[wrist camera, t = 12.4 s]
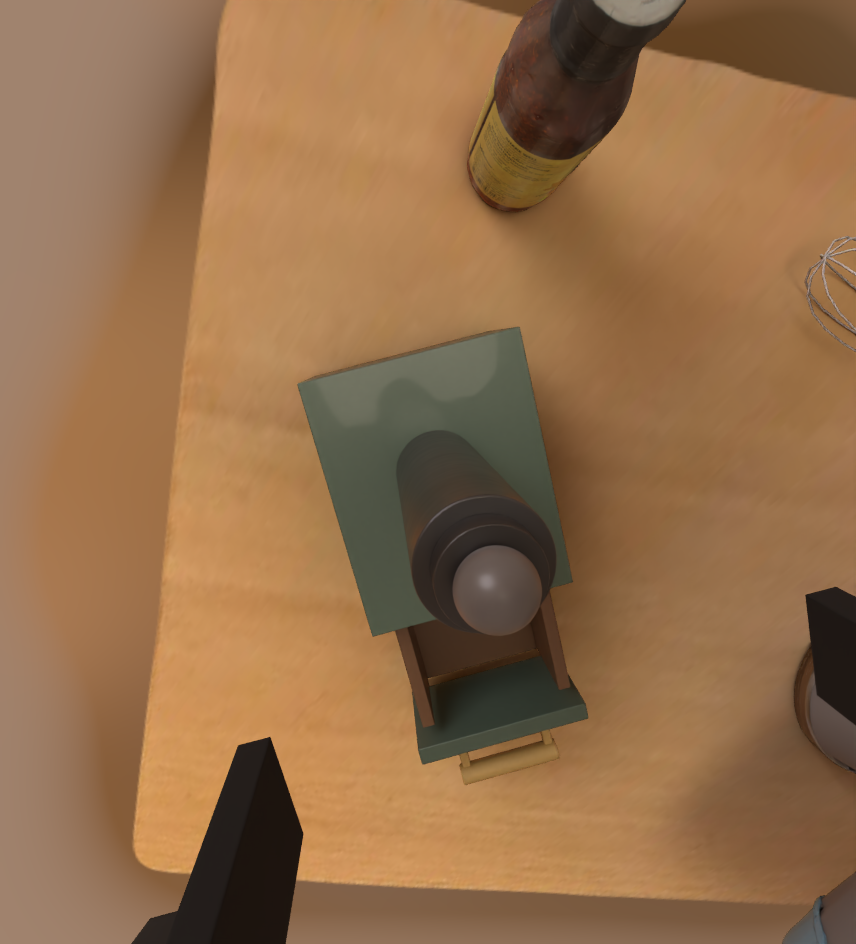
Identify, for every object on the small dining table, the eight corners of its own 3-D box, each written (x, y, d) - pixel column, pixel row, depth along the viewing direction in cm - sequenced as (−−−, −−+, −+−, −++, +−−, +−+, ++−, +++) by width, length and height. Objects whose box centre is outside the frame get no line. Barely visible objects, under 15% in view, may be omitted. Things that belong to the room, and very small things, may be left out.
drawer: (568, 712, 47) (600, 772, 40) (429, 751, 46) (438, 818, 40) (519, 489, 42) (545, 515, 36) (365, 529, 42) (363, 564, 35)
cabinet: (535, 538, 44) (573, 582, 36) (373, 581, 44) (372, 637, 36) (490, 330, 41) (519, 326, 32) (313, 376, 40) (297, 383, 32)
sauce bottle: (556, 214, 40) (727, 86, 20) (464, 215, 39) (549, 86, 20) (558, 106, 38) (743, -142, 19) (462, 106, 38) (551, -148, 18)
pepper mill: (487, 500, 34) (606, 663, 17) (408, 521, 34) (441, 708, 16) (469, 420, 33) (574, 504, 16) (386, 442, 33) (398, 551, 15)
